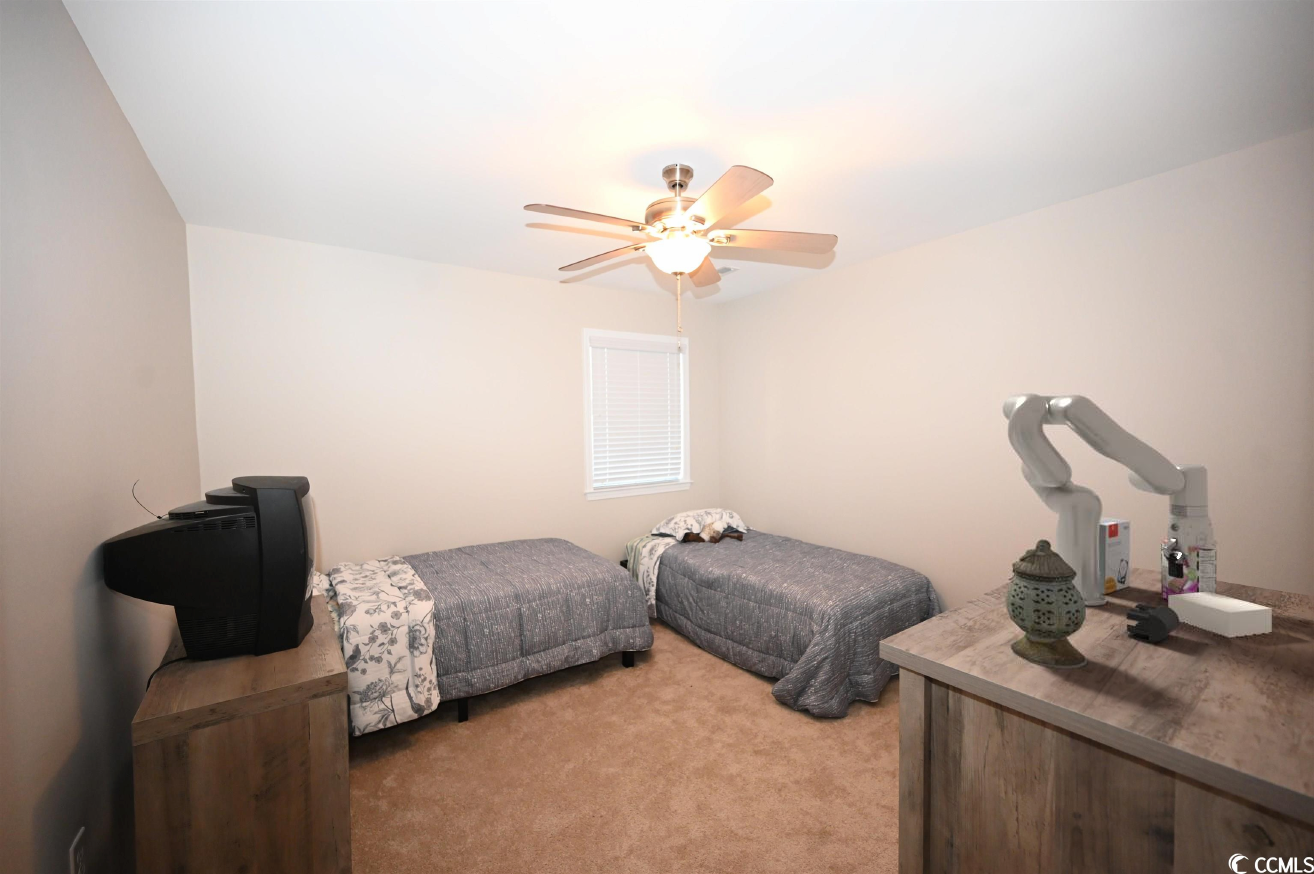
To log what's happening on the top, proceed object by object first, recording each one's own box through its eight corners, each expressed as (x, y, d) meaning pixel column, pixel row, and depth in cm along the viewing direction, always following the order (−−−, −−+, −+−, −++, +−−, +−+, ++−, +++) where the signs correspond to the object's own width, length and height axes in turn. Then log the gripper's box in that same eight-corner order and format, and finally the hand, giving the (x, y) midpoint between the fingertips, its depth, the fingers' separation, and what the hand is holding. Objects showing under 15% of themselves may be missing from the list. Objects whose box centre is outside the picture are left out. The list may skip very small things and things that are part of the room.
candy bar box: (1159, 598, 155) (1159, 539, 154) (1178, 598, 154) (1178, 539, 154) (1197, 612, 143) (1198, 548, 143) (1217, 612, 143) (1218, 548, 143)
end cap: (1166, 648, 123) (1166, 617, 123) (1126, 638, 129) (1126, 609, 128) (1179, 637, 129) (1179, 607, 128) (1140, 628, 134) (1140, 600, 134)
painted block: (1229, 638, 127) (1229, 612, 127) (1168, 619, 140) (1168, 595, 140) (1271, 634, 129) (1271, 608, 129) (1207, 615, 142) (1207, 591, 142)
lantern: (1046, 672, 113) (1045, 549, 112) (991, 645, 127) (990, 535, 126) (1104, 664, 115) (1103, 544, 115) (1043, 638, 129) (1043, 531, 129)
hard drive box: (1105, 595, 158) (1104, 525, 158) (1074, 588, 165) (1073, 521, 164) (1130, 586, 166) (1130, 519, 165) (1100, 580, 172) (1100, 516, 172)
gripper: (1179, 516, 143) (1180, 582, 143) (1230, 510, 146) (1232, 575, 147) (1147, 511, 150) (1149, 575, 150) (1197, 506, 154) (1198, 568, 154)
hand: (1190, 575), depth 149 cm, fingers open, 9 cm apart
